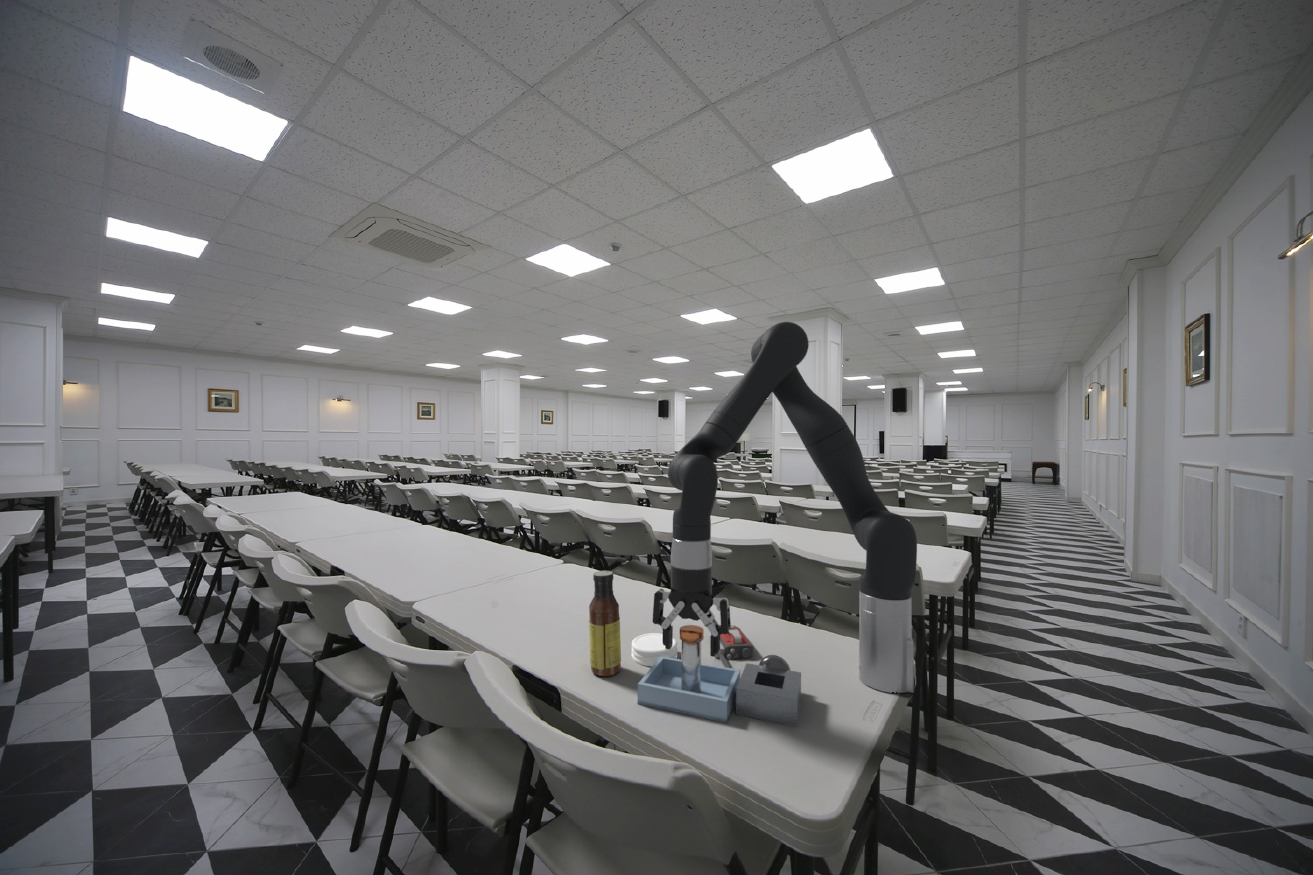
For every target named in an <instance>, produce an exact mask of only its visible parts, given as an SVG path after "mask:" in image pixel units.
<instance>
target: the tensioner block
mask: <svg viewBox="0 0 1313 875" xmlns="http://www.w3.org/2000/svg"><path fill="white" fill-rule="evenodd" d="M745 663H746V662H745ZM801 700H802V672H801V671H795V670H791V667H790V665H789V664H788V662H787V661H786V660H785V659H784V657H783V658H782V657H781V656H779V655H776V654H769V655H768V654H767V655H766V656H764V657H762V659H761V660H760V661H759V663H758V664H753V663H748V662H747V663H746V664H745V666H744V668H743V670H742V673H741V674H740V680H739V683H738V685H737V688H736V700H735V707H736V708H735V709H736V710H735V713H736V714H735V715H736V716H741V717H746V718H751V719H755V720H761V721H765V722H769V723H770V722H771V723H775V724H780V725H785V726H790V727H793V728H798V724H799V717H800V709H801V703H802V702H801Z"/></svg>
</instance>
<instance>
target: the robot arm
mask: <svg viewBox="0 0 1313 875" xmlns="http://www.w3.org/2000/svg"><path fill="white" fill-rule="evenodd" d="M809 343H810V342H809V338H808V335H807V332H806V331H805V330H804V329H803V328H802V327H801V326H800V325H799V324H797V323H795V322H793V321H783V322H778V323H776V324H773V325H772V326H770V327H769V328H768V329H767V330H765V332H763V334H761V335H760V336H759V337H758V338H757V339H756V340H755V342H753V344H752V346H751V350H750V352H751V353H750V355H751V361H752V364H751V366H750V367H749V369H747V371H746V373H744V375H743V376H742V377H741V378H740V380H739V381H738V382H737V383H736V384H735V385H734V386H733V388H732V389H731V390H730V391H729V392H728V393H727V394H726V396H725V397H724V398H723V399H722V400H721V402H720V403H719V404H718V405H717V406H716V408H715V409H714V410H713V411H712V413H711V414H710V415H709V417H708V418H707V420H706V421H705V422H704V424H703V426H701V427H700V430H699V431H698V432H697V433H696V434H695V435H694V436H693V437H692V438H691V439H690V440H689V441H688V442H686V443H685V445H684V446H683V447H681V448H680V449H679V451H678V452H677V453H676V454H675V455H674V456H673V458H672V460H671V461H670V463H669V466H668V470H667V477H668V478H667V479H668V481H669V482H670V484H671V486H673V487H674V488H675V489H677V490H678V491H681V498H680V504H679V505H678V506H677V507H676V508H675V509H674V511H673V514H672V542H671V549H670V550H671V551H670V552H671V553H670V591H665V590H664V589H663V588H659V589H658V590H657V591H656V592H655V593H653V607H652V608H653V610H652V623H653V624H654V625H658V626H660V627H661V629H662V634H663V645H665V649H670V648H671V647H672V644H673V638H674V636H673V635H674V633H673V632H674V631H673V630H674V629H673V628H674V626H673V625H672V623H673V622H674V621H675V619H676V618H677V617H678V616H679V617H680V618H681V619H683V620H687V619H690V620H693V621H697V622H698V621H699V620H700V621H701V622H702V624H703V625H704V627H706V628H707V629H708V631H709V633H710V637H709V638H710V639H709V640H710V641H709V642H710V643H709V645H710V649H709V650H710V651H709V653H710V654H709V655H710V657H712V658H713V657H714V658H715V655H716V654H718V652H719V650H720V635H721V634H727V633H728V631H729V630H730V628H731V626H732V625H731V606H730V598H729V596H726V595H725V596H723V597H715V596H714V594H713V590H712V589H713V584H712V583H713V582H712V581H713V579H712V578H713V570H712V569H713V566H712V565H713V550H712V539H711V535H712V531H711V530H712V527H711V525H712V523H711V522H712V520H711V516H712V511H713V508H714V504H715V500H716V495H717V491H718V486H719V485H718V484H719V476H718V470H717V467H716V464H715V463H714V462H716V460H717V459H719V458H720V457H721V458H722V457H724V456H726V455H728V454H729V453H730V452H731V451H732V449H733V448H734V447H735V446H736V444H737V443H738V441H739V440H740V438H741V437H742V435H743V434H744V433H745V431H746V429H747V428H748V427H749V425H750V424H751V422H752V421H753V419H754V418H755V416H756V414H758V412H759V410H760V409H761V407H762V406H763V405H764V403H765V402H766V401H767V400H768V398H769V397H770V395H771V394H773V395H774V396H775V398H776V399H777V400H778V402H779V403H780V405H781V406H782V409H783V410H784V412H785V413H786V414H785V415H786V416H787V418H788V419H789V421H790V423H791V425H792V426H793V427H794V429H795V430H796V433H797V435H798V436H799V438H800V440H801V441H802V444H803V446H804V448H805V450H806V451H807V453H808V455H809V457H810V458H811V460H812V462H813V463H814V465H815V466H816V468H817V469H818V471H819V472H820V474H821V476H822V478H823V479H824V481H825V482H826V484H827V485H828V487H829V488H830V489H831V491H832V493H833V494H834V495H835V497H836V498H837V501H838V502H839V504H840V507H841V508H842V510H843V513H844V514H845V518H846V519H847V521H848V524H849V526H850V529H851V530H852V533H853V535H854V538H855V539H856V542H857V543H858V544H859V546H860V547H861V548H862V549H863V550H864V551H866V552H865V553H866V554H865V556H866V558H865V570H864V573H863V574H861V575H860V577H859V583H858V584H859V585H858V586H859V589H858V590H859V593H858V594H859V596H858V597H859V598H858V599H859V601H858V602H859V606H858V607H859V609H858V610H859V614H858V615H859V616H858V617H859V618H858V619H859V624H858V626H859V628H858V629H859V630H858V631H859V636H858V637H859V656H858V657H859V658H858V659H859V660H858V661H859V665H858V671H859V679H860V681H861V682H862V683H864V684H865V685H867V686H868V687H870V688H872V689H874V690H877V691H880V692H885V693H891V694H901V693H902V694H903V693H915V685H914V684H915V682H914V681H915V679H914V675H915V671H914V669H915V668H914V667H915V666H914V665H915V664H914V662H915V659H914V658H915V656H914V655H915V654H914V650H915V649H914V643H915V642H914V639H913V638H912V590H913V587H914V585H915V583H916V578H917V577H916V576H917V560H918V558H917V557H918V539H917V534H916V530H915V527H914V526H913V524H912V523H911V522H910V521H909V520H908V519H907V518H905V517H904V516H902V515H901V514H897V513H895V512H891V511H890V510H889V509H888V508H887V507H886V505H885V504H884V503H883V502H882V500H881V499H880V496H878V494H877V492H876V491H875V489H874V487H873V486H872V484H871V482H870V480H869V476H868V473H867V468H866V464H865V460H864V457H863V453H862V451H861V448H860V446H859V443H858V441H857V439H856V437H855V435H854V434H853V432H852V430H851V428H850V427H849V425H848V424H847V422H846V420H845V418H843V416H842V414H841V413H839V412H838V411H837V410H836V409H835V408H834V407H832V406H831V405H830V404H829V403H828V402H826V401H825V400H824V399H822V397H820V396H819V395H818V394H817V393H815V392H814V391H813V389H811V387H810V386H809V385H808V383H807V382H806V381H805V378H803V376H802V374H801V373H800V370H799V368H798V367H797V366H798V365H799V364H801V362H802V361H803V360H804V359H805V357H806V356H807V353H808V350H809ZM667 600H668V601H669V603H670V604H671V605H672V607H673V609H672V610H671V611H670V613H669V614H668V615H667V617H665V616H664V609H665V608H664V604H666V602H667ZM713 605H714V606H715V607H716V609H717V611H719V612H720V613H719V616H720V624H719V623H718V621H717V619H716V618H715V615H714V613H713V611H712V610H711V608H712V606H713ZM711 634H712V635H711ZM892 692H894V693H892ZM896 692H897V693H896Z"/></svg>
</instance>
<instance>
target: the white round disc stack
mask: <svg viewBox="0 0 1313 875" xmlns="http://www.w3.org/2000/svg"><path fill="white" fill-rule="evenodd" d="M630 645H631V649H630V650H631V659H632V660H633V662H635V663H637V664H639V665H642V666H645V667H650V668H651V667H652V666H653V665H654V664H655V663H656V661H657V660H658V659H659V658H660V657H661V656H663V657H668V658H674V659H678V641H677V640H676V639H675V638H674V637H673V644H672V647H671V648H670V649H665V645H663V633H658V632H657V633H656V632H654V633H653V632H651V633H649V632H648V633H644V634H641V635H638V636H636V637H634V639H633V640H631V644H630Z"/></svg>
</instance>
